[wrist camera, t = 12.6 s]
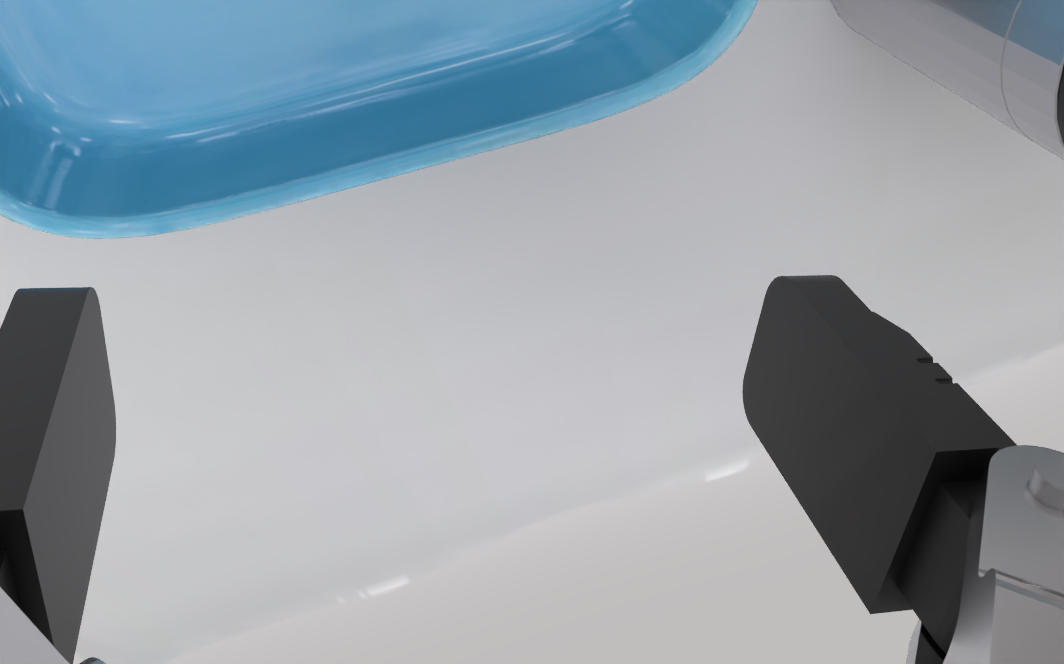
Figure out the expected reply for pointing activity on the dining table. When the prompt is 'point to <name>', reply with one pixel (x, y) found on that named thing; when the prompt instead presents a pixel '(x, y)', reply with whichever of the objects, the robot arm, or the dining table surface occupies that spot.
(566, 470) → the dining table surface
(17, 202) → the casserole dish
